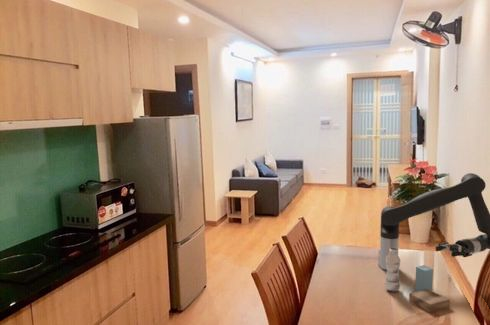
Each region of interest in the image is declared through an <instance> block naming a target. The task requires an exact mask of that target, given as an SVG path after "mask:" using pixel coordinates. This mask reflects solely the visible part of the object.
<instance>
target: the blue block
mask: <svg viewBox="0 0 490 325" xmlns="http://www.w3.org/2000/svg"><path fill="white" fill-rule="evenodd" d="M433 278H434V268H432V267H429V266H427V265H424V264H423V265H418V266H416V267H415V281H414V282H415V288H414V292H418V291H422V290H426V289H428V290H430V291H433Z"/></svg>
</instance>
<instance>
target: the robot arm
mask: <svg viewBox="0 0 490 325" xmlns="http://www.w3.org/2000/svg"><path fill="white" fill-rule="evenodd" d="M485 189H486V181H485V180H484V179H483V178H482V177H480V175H478V174H475V173H471V172H470V173H469V172H468V173H465V174H464V175H463V176H462V177H461V180H460V182H458V183H457V184H455V185H452V186H449V187H443V188H436V189H433V190H430V191H427V192H423V193H421V194H419V195H417V196H416V197H414V198H413V199H411V200H410V201H408V202H407V203H405V204H402V205H399V206H397V207H394V206H393V205H392V206H391V205H389V206H385V207H383V209H382V210H381V212H380V237H379V238H380V239H379V240H380V241H379V242H380V243H379V247H380V248H378V260H377V261H378V263H377V265H378V267H379V268H380V269H382V270H385V271H387V266H386V257H387V256H388V254H389V248H397V249H398V250H399V246H400V245H399V244H400V243H399V242H400V241H399V240H400V239H399V238H400V223H402V222H403V221H406V220H408V219H410V218H412V217H416V216H419V215H422V214H425V213H428V212H431V211H433V210H434V211H435V210H436V209H439V208H441V207H444V206H446V205H449V204H452V203H454V202H456V201H458V200H462V199H464V198H465V199H466V198H468V200H469V203H470V206H471V209H472V213H473V216H474V220H475V224H476V227H477V229H478V231H479V232H481V233H483V234H479V235H478V236H476V237H470V238H463V239H459V240H457V241H455V242H454V243H449V241H445V242H439V243H438V245H437V246H435V252H440V251H446V252H448V253H449V252H451V253H450V254H451V257H453V258H454V257H455V258H456V257H462V258H468V257H471V256H473V254H474V255H475V254H477V253H481V252H484V251H486V250H490V211H489V208H488V206H487V204H486V202H485V199H484V196H483V193H482V192H483V191H484V190H485ZM397 255H398V256H399V253H398V254H397Z"/></svg>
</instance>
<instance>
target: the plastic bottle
mask: <svg viewBox="0 0 490 325" xmlns="http://www.w3.org/2000/svg"><path fill="white" fill-rule="evenodd" d="M397 254H398V255H397ZM386 266H387V270H386V278H385V281H384V286H385V289H386V290H387V291H389V292H393V293H395V292H399V290H400V287H401V284H400V266H401V258H400V257H399V248H398V249H397V248H389V254H388V256H387V257H386Z"/></svg>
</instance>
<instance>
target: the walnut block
mask: <svg viewBox="0 0 490 325" xmlns="http://www.w3.org/2000/svg"><path fill="white" fill-rule="evenodd" d="M408 302H409V303H411V304H412V305H415V306H416V307H419V308H421V309H422V310H424V311H426V312H428V313H429V314H432V313H436V312H439V311H443V310H446V309H449V308H450V299H449V298H447V297H445V296H443V295H441V294H438V293H436V292H435V291H433V290H432V291H430V290H428V289H426V290H422V291H418V292H415V291H414V292H411V293H409V298H408Z"/></svg>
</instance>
